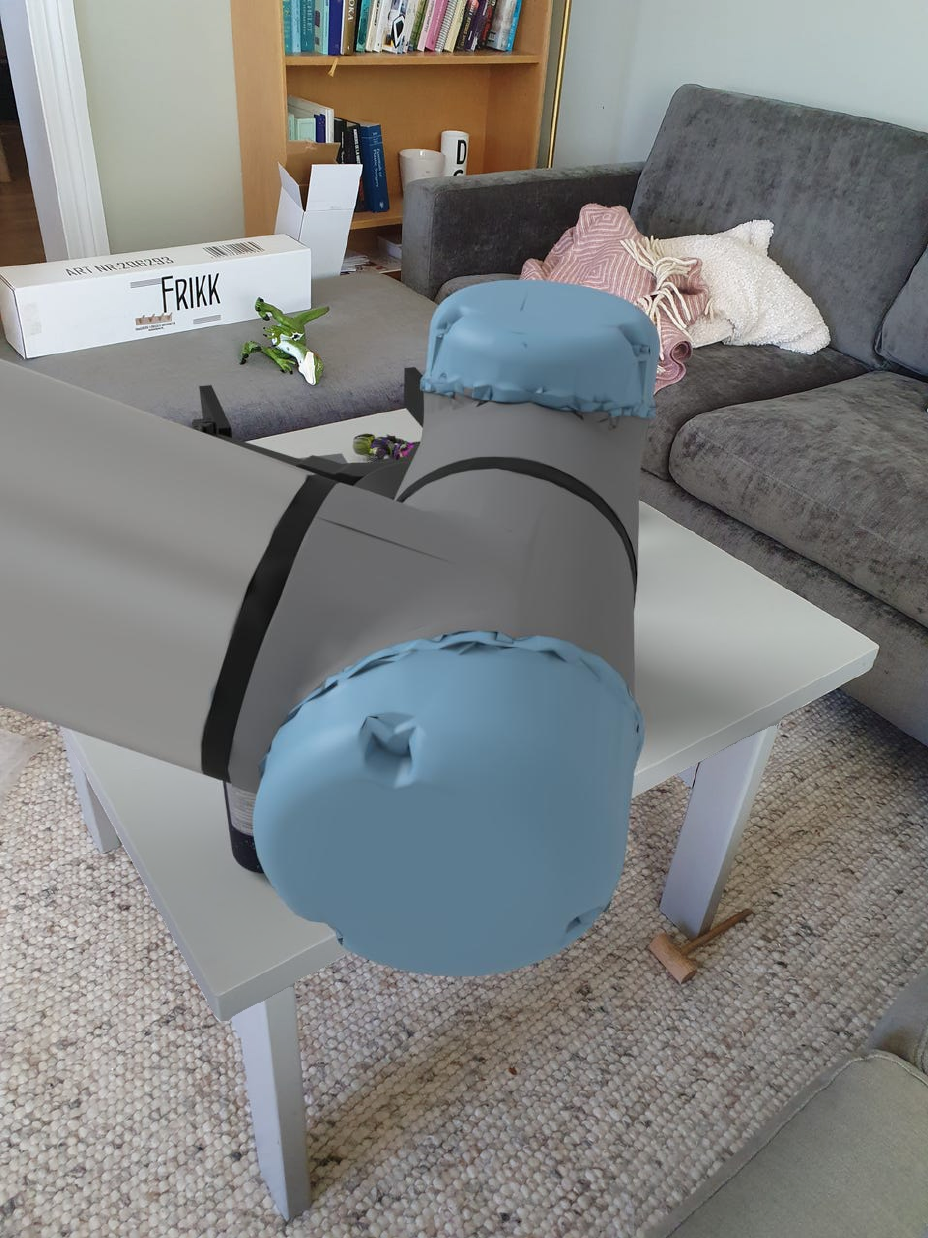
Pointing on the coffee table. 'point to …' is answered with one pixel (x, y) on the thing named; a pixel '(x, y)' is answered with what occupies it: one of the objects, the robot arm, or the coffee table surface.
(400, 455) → the character figure
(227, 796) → the beverage can
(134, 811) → the coffee table surface
